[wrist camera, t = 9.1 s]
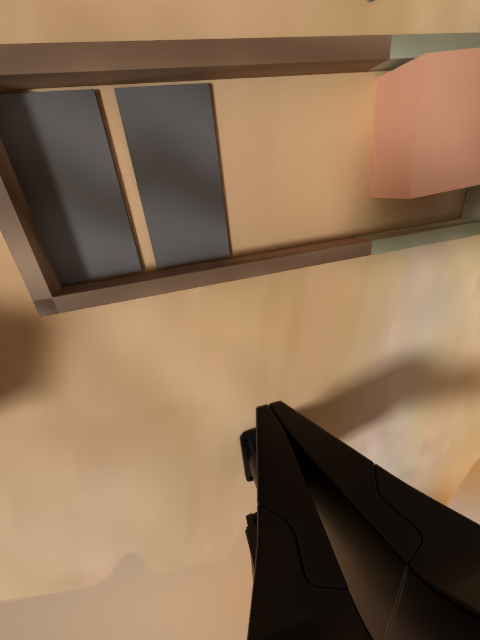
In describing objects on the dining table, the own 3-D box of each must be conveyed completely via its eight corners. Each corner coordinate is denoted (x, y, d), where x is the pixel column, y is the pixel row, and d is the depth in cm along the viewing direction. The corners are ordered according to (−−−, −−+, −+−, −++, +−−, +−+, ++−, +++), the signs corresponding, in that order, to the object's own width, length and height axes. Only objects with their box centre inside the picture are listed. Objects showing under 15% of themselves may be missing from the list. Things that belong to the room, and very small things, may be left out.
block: (446, 181, 22) (500, 180, 19) (368, 197, 21) (410, 198, 18) (464, 68, 19) (532, 41, 16) (373, 79, 18) (425, 53, 15)
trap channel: (477, 227, 25) (530, 233, 21) (51, 304, 18) (26, 331, 15) (522, 45, 19) (603, 13, 16) (-52, 65, 13) (-129, 19, 10)
